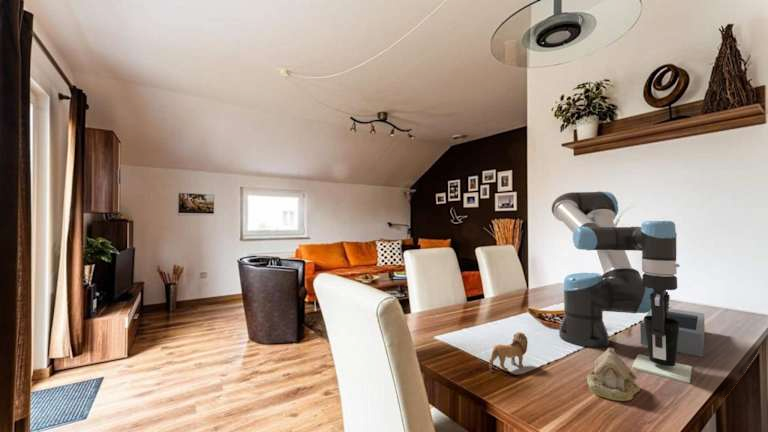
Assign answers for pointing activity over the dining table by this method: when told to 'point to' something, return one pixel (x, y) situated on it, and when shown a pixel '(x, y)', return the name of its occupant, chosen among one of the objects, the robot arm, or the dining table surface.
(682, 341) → the slot box
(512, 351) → the lion figurine
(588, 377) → the ceramic model
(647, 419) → the dining table surface
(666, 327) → the cup
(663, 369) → the mat
